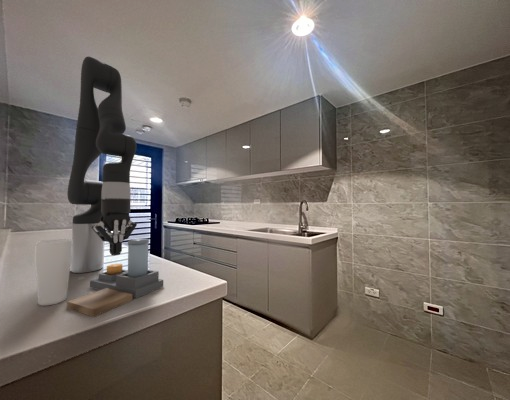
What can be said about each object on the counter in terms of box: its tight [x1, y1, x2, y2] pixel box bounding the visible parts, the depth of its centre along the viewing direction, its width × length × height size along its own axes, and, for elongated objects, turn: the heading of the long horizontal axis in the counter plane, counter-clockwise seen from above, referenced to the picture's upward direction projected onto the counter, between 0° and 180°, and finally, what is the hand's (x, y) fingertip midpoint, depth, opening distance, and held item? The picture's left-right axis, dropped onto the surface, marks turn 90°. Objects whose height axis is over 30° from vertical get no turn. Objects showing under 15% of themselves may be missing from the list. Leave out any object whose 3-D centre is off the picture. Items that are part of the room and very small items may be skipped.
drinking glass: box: [34, 238, 72, 307], centre depth 54 cm, size 7×7×15 cm
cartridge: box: [127, 238, 150, 278], centre depth 62 cm, size 5×5×12 cm
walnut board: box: [66, 288, 133, 318], centre depth 53 cm, size 10×9×2 cm
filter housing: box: [89, 268, 164, 299], centre depth 64 cm, size 19×9×4 cm, turn 67°
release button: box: [106, 263, 123, 274], centre depth 66 cm, size 4×4×2 cm
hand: (115, 254), depth 66 cm, fingers closed
